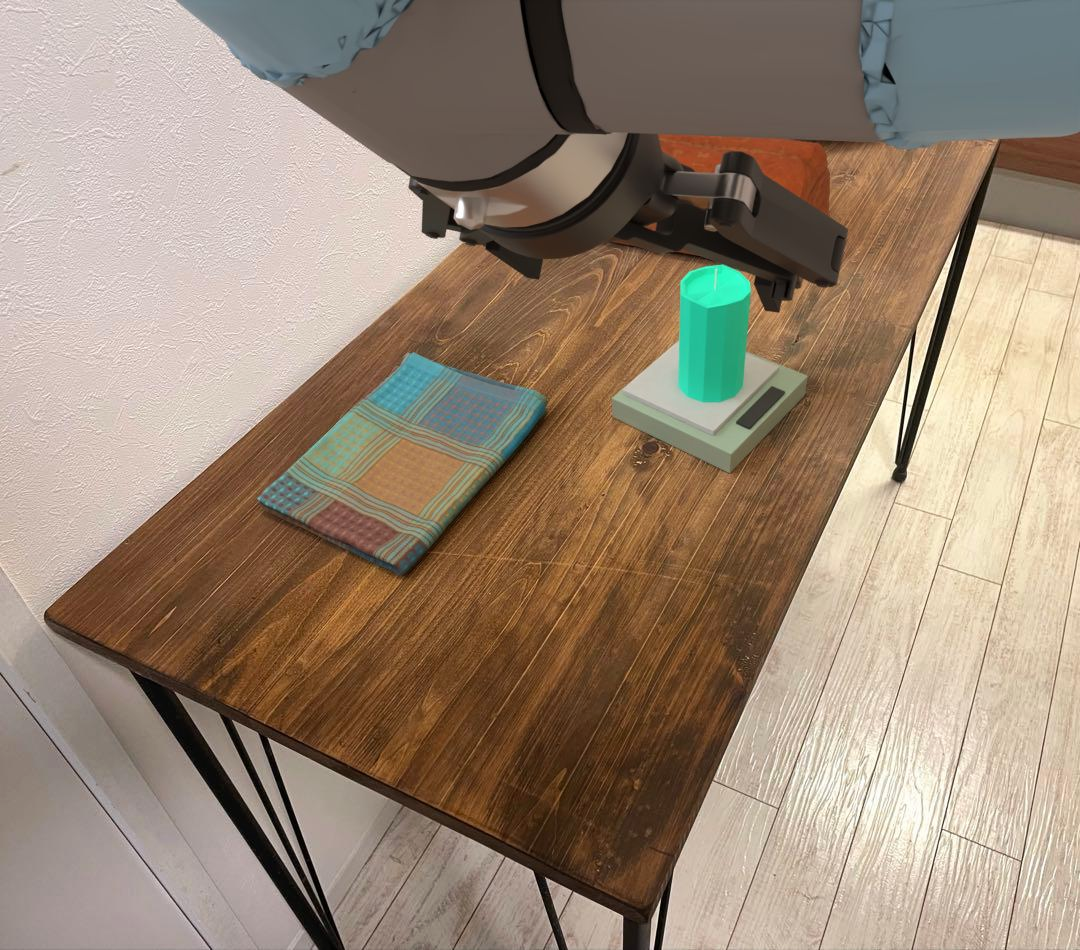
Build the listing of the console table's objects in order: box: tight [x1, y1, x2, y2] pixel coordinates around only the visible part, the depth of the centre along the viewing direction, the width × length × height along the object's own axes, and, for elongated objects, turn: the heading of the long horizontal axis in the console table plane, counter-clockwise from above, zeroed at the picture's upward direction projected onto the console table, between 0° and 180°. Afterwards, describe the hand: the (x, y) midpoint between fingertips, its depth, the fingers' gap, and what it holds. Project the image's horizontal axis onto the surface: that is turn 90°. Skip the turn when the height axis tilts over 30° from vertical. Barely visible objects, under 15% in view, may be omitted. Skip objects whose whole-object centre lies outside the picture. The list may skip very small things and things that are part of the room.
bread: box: [614, 134, 831, 257], centre depth 106 cm, size 16×27×11 cm, turn 64°
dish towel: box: [257, 352, 549, 577], centre depth 84 cm, size 17×23×2 cm
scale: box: [611, 339, 809, 474], centre depth 86 cm, size 13×13×3 cm
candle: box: [678, 264, 752, 402], centre depth 80 cm, size 6×6×12 cm
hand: (652, 270), depth 50 cm, fingers open, 13 cm apart
